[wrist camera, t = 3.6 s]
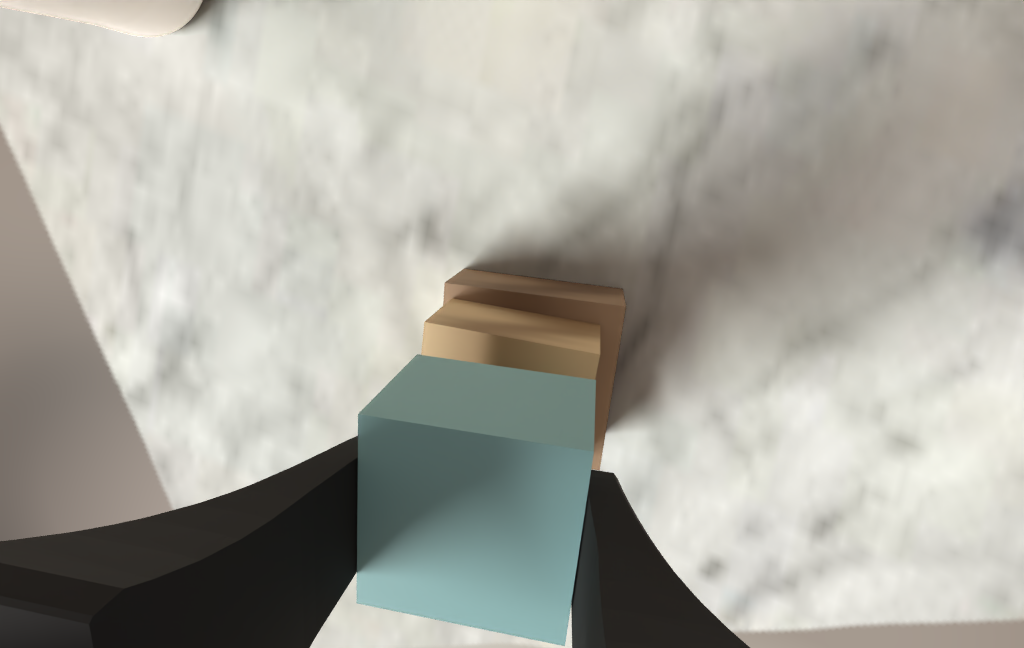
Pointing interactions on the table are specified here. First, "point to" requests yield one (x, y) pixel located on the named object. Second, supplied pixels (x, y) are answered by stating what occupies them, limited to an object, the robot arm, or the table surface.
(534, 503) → the teal block
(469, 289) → the tower base
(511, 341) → the tower mid
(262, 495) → the robot arm
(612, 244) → the table surface
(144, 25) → the drinking glass
